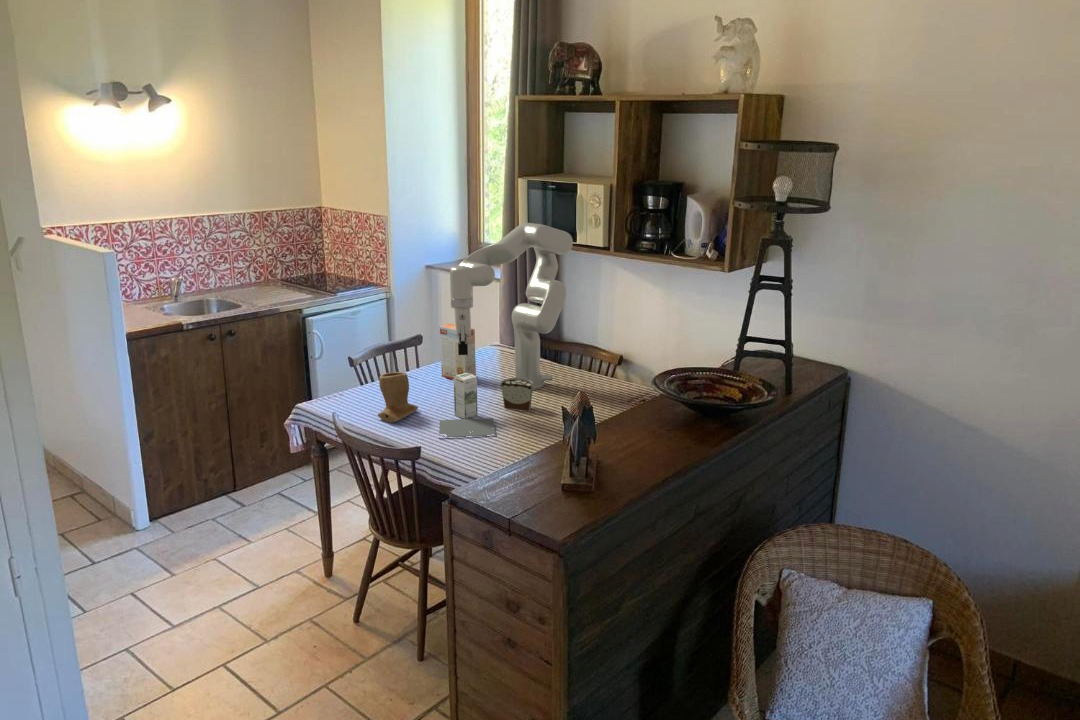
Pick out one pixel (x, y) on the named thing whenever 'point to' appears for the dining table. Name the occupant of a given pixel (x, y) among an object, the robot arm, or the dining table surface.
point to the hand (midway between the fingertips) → (463, 354)
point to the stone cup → (395, 396)
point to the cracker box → (456, 353)
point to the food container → (517, 393)
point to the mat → (467, 427)
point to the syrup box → (465, 395)
